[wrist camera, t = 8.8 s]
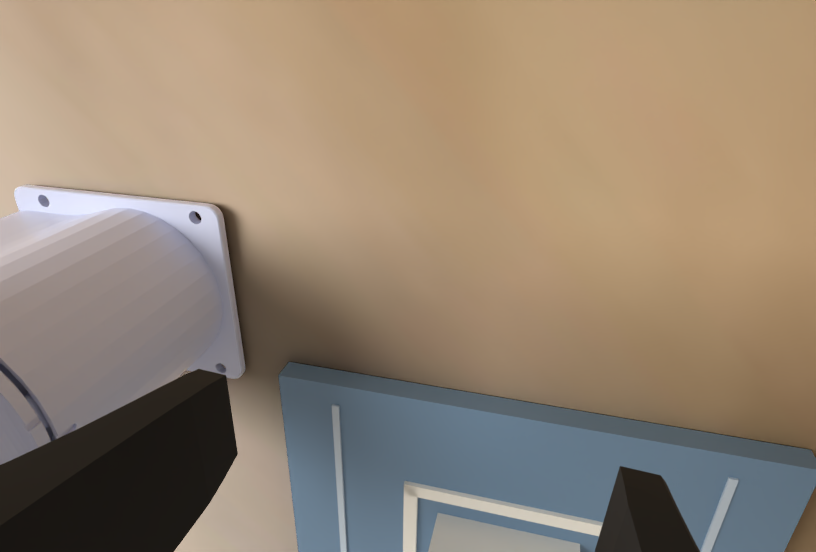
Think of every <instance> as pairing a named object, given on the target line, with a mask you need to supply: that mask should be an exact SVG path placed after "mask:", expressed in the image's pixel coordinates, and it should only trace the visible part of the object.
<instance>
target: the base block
mask: <svg viewBox="0 0 816 552" xmlns="http://www.w3.org/2000/svg"><path fill="white" fill-rule="evenodd" d="M428 552H580V544H578V543H574V542H569V541H565V540H560V539H556V538H551V537H547V536H542V535H537V534H533V533H528V532H524V531H519V530H515V529H510V528H506V527H501V526H496V525H492V524H487V523H483V522H478V521H474V520H469V519H465V518H460V517H455V516H451V515H446V514H442V513H438V514H437V518H436V522H435V526H434V530H433V534H432V538H431V542H430V546H429V550H428Z"/></svg>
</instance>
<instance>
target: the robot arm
mask: <svg viewBox="0 0 816 552" xmlns="http://www.w3.org/2000/svg"><path fill="white" fill-rule="evenodd" d="M14 195H15V200H16V203H17V206H18V209H19V211H18V212H16V213H13V214H10V215H7V216H5V217H2V218H0V552H174V550H175V549H176V548H177V546H178V545H179V544H180V542H181V541H182V540H183V538H184V537H185V536H186V534H187V533H188V532H189V530H190V529H191V528H192V526H193V525H194V524H195V522H196V521H197V519H198V518H199V517H200V515H201V514H202V513H203V511H204V510H205V509H206V507H207V506H208V504H209V503H210V501H211V500H212V498H213V496H214V495H215V493H216V491H217V490H218V488H219V486H220V485H221V483H222V481H223V480H224V478H225V476H226V474H227V472H228V471H229V469H230V467H231V465H232V463H233V461H234V460H235V458H236V456H237V454H238V453H237V446H236V440H235V433H234V426H233V419H232V413H231V406H230V399H229V392H228V386H227V379H226V378H232V379H237V378H240V377H241V376H242V374H243V373H244V372H245V361H244V354H243V347H242V340H241V333H240V326H239V319H238V313H237V306H236V299H235V292H234V285H233V278H232V272H231V265H230V258H229V251H228V244H227V237H226V231H225V224H224V217H223V214H222V212H221V210H220V209H219V208H218V207H217V206H215V205H213V204H209V203H199V202H190V201H180V200H170V199H161V198H151V197H142V196H132V195H122V194H113V193H103V192H93V191H84V190H74V189H65V188H55V187H45V186H36V185H23V186H20V187H17V188H16V189H15V192H14ZM46 197H47V198H48V200H49V201H48V200H47V198H46ZM195 212H197V213H198V214H199V215H200V216H201V220H199V219H198V218H197V217H196V215H195ZM221 364H223V365H224V366H225V367H226V368H225V367H223V366H222V365H221ZM185 370H188V371H193V372H190V373H188V374H186V375H184V376H182V377H180V378H178V377H179V376H180V375H181V374H182V373H183V372H184V371H185ZM595 552H700V551H699V549H698V547H697V545H696V543H695V541H694V539H693V537H692V535H691V533H690V531H689V529H688V527H687V525H686V523H685V521H684V519H683V517H682V515H681V513H680V511H679V509H678V507H677V505H676V503H675V501H674V499H673V496H672V494H671V492H670V490H669V488H668V486H667V484H666V482H665V480H664V479H663V478H662V476H661V475H657V474H653V473H649V472H644V471H640V470H636V469H631V468H627V467H623V466H620V467H619V471H618V474H617V478H616V481H615V484H614V488H613V491H612V494H611V498H610V501H609V505H608V508H607V511H606V515H605V518H604V521H603V525H602V528H601V532H600V535H599V538H598V542H597V545H596V548H595Z"/></svg>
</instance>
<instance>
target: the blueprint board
mask: <svg viewBox="0 0 816 552" xmlns="http://www.w3.org/2000/svg"><path fill="white" fill-rule="evenodd" d="M278 377H279V385H280V394H281V403H282V412H283V420H284V429H285V438H286V447H287V456H288V464H289V473H290V482H291V491H292V499H293V508H294V517H295V526H296V534H297V543H298V552H428V550H429V546H430V542H431V538H432V534H433V530H434V526H435V522H436V518H437V514H438V513H442V514H446V515H451V516H455V517H460V518H465V519H469V520H474V521H478V522H483V523H487V524H492V525H496V526H501V527H506V528H510V529H515V530H519V531H524V532H528V533H533V534H537V535H542V536H547V537H551V538H556V539H560V540H565V541H569V542H574V543H578V544H580V552H595V548H596V545H597V542H598V538H599V535H600V532H601V528H602V525H603V521H604V518H605V515H606V511H607V508H608V505H609V501H610V498H611V494H612V491H613V488H614V484H615V481H616V478H617V474H618V471H619V467H620V466H623V467H627V468H631V469H636V470H640V471H644V472H649V473H653V474H657V475H661V476H662V478H663V479H664V480H665V482H666V484H667V486H668V488H669V490H670V492H671V494H672V496H673V499H674V501H675V503H676V505H677V507H678V509H679V511H680V513H681V515H682V517H683V519H684V521H685V523H686V525H687V527H688V529H689V531H690V533H691V535H692V537H693V539H694V541H695V543H696V545H697V547H698V549H699V551H700V552H784V551H785V549H786V547H787V544H788V542H789V540H790V538H791V536H792V534H793V532H794V530H795V528H796V526H797V524H798V522H799V520H800V518H801V516H802V513H803V511H804V509H805V507H806V505H807V503H808V501H809V499H810V497H811V495H812V493H813V491H814V489H815V487H816V458H815V456H814V454H813V452H812V451H811V450H809V449H803V448H797V447H791V446H785V445H779V444H773V443H767V442H761V441H755V440H750V439H744V438H738V437H732V436H726V435H720V434H714V433H708V432H702V431H696V430H690V429H684V428H678V427H672V426H667V425H661V424H655V423H649V422H643V421H637V420H631V419H625V418H619V417H613V416H607V415H601V414H595V413H589V412H584V411H578V410H572V409H566V408H560V407H554V406H548V405H542V404H536V403H530V402H524V401H518V400H512V399H506V398H501V397H495V396H489V395H483V394H477V393H471V392H465V391H459V390H453V389H447V388H441V387H435V386H429V385H423V384H418V383H412V382H406V381H400V380H394V379H388V378H382V377H376V376H370V375H364V374H358V373H352V372H346V371H340V370H335V369H329V368H323V367H317V366H311V365H305V364H299V363H293V362H288V364H287V365H286V366H285V367H284V369H283V370H282V371H281V373H280V374H279V375H278Z"/></svg>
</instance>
